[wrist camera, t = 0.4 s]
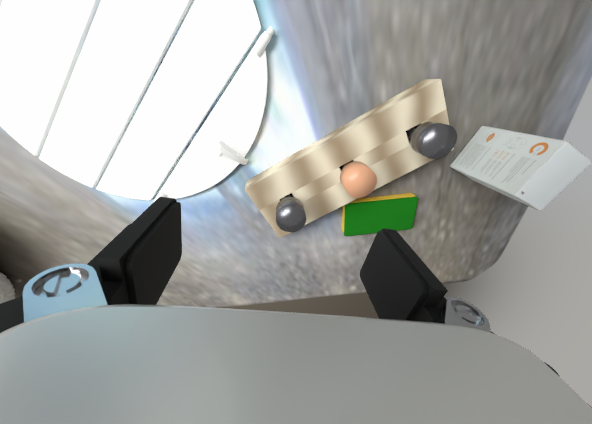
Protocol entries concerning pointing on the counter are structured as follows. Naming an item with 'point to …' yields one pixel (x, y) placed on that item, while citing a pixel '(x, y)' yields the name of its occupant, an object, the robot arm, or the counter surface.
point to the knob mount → (351, 155)
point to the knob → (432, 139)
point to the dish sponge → (379, 214)
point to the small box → (520, 164)
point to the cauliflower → (6, 289)
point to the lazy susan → (133, 89)
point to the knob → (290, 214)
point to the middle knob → (358, 179)
